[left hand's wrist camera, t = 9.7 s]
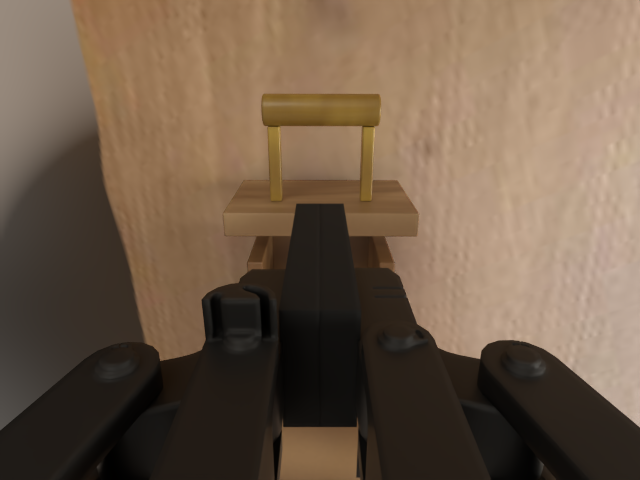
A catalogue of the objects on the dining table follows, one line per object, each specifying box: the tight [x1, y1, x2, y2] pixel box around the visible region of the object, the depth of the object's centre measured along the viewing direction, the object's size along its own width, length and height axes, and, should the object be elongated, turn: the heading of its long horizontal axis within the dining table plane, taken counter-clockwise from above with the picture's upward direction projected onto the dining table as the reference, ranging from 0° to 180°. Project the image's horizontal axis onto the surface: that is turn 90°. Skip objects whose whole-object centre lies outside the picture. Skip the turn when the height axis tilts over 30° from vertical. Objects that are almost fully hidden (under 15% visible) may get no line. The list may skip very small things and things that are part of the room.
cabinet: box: [280, 419, 360, 480], centre depth 31 cm, size 18×11×9 cm, turn 0°
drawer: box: [223, 94, 419, 272], centre depth 27 cm, size 22×10×7 cm, turn 0°
